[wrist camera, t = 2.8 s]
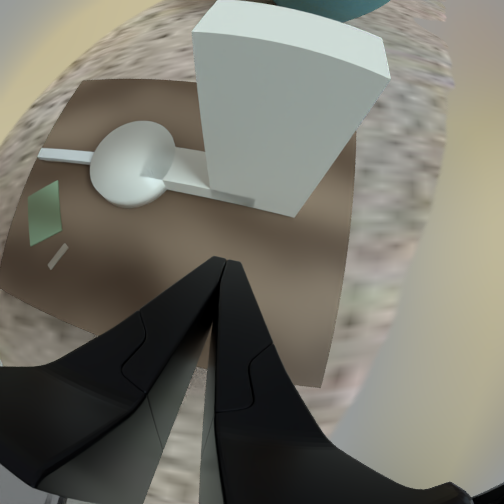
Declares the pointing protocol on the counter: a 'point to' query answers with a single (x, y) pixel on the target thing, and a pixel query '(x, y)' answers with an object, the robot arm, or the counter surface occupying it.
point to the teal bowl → (334, 7)
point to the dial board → (173, 232)
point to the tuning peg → (250, 112)
